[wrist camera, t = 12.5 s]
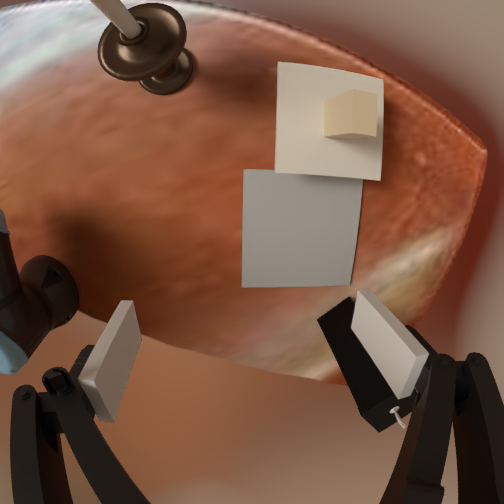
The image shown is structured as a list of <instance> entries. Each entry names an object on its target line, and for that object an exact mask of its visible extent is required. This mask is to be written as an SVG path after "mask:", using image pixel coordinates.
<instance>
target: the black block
mask: <svg viewBox="0 0 504 504" xmlns="http://www.w3.org/2000/svg"><path fill="white" fill-rule="evenodd" d="M354 310H355V304H354V302H353V301H352V300H351V298H350V297H348V298H346V299H345V300H343V301H342V302H341V303H339V304H338V305H337V306H335V307H334V308H332V309H331V310H330V311H328V312H327V313H326V314H324V315H323V316H321V317H320V318H319V319H317V321H318V323H319V325H320V327H321V329H322V331H323V333H324V335H325V337H326V339H327V342H328V344H329V346H330V348H331V350H332V352H333V354H334V356H335V358H336V361H337V363H338V365H339V367H340V369H341V371H342V373H343V375H344V378H345V380H346V382H347V384H348V386H349V388H350V391H351V393H352V395H353V397H354V399H355V401H356V404H357V406H358V410H359V412H360V414H361V416H362V417H363V418H364V419H365V420H366V421H367V422H368V423H369V424H371V425H372V426H373V427H374V428H375V429H376V430H377V431H378V432H381V431H383V430H385V429H386V428H388V427H389V426H391V425H392V424H394V423H395V422H397V421H398V422H399V424H400V425H401V426H402V427H403V428H404V429H405V424H404V422H403V421H402V420H401V419H402V418H403V417H405V416H406V415H408V414H409V413H410V412H412V410H413V407H411V405H412V403H413V401H414V399H415V397H416V395H417V391H416V389H415V387H414V389H413V391H412V394H411V396H408V397H405V398H402V399H398V398H397V397H396V395H395V394H394V392H393V391H392V389H391V387H390V386H389V384H388V383H387V381H386V380H385V378H384V377H383V375H382V374H381V372H380V370H379V369H378V367H377V366H376V364H375V363H374V361H373V360H372V358H371V357H370V355H369V354H368V352H367V351H366V349H365V348H364V346H363V345H362V343H361V342H360V340H359V339H358V337H357V336H356V334H355V333H354V332H353V330H352V329H351V325H352V320H353V315H354Z"/></svg>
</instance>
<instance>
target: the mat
mask: <svg viewBox="0 0 504 504" xmlns="http://www.w3.org/2000/svg"><path fill="white" fill-rule="evenodd" d="M362 187H363V179H359V178H348V177H337V176H324V175H310V174H292V173H275V170H262V169H244V182H243V231H242V287H309V286H342V285H350V280H351V274H352V268H353V262H354V255H355V248H356V241H357V234H358V226H359V217H360V208H361V198H362Z"/></svg>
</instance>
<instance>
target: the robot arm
mask: <svg viewBox="0 0 504 504" xmlns="http://www.w3.org/2000/svg"><path fill="white" fill-rule="evenodd" d="M9 235H10V232H9V231H8V228H7V224H6V219H5V215H4V213H3V211H2V210H1V209H0V372H1V373H3V374H7V375H12V374H15V373H17V372H18V371H19V370H20V368H21V367H22V366H23V365H24V364H26V363H27V362H28V359H29V358H30V357H31V355H32V354H33V352H34V351H35V350H36V348H37V347H38V346H39V344H40V343H41V342H42V341H43V339H44V338H45V337H46V335H47V334H48V333H49V332H50V331H51V330H53V329H55V328H58V327H60V326H62V325H64V324H66V323H67V322H69V321H70V320H71V319H72V317H73V316H74V315H75V313H76V312H77V309H78V305H79V296H78V291H77V287H76V285H75V282H74V280H73V278H72V277H71V275H70V273H69V272H68V271H67V270H66V268H65V267H64V266H63V265H62V264H61V263H59V262H58V261H57V260H55V259H53V258H51V257H49V256H44V255H40V256H36V257H34V258H32V259H31V260H29V261H28V262H27V263H26V264H25V265H24V266H23V267H22V269H21V271H20V273H19V274H18V270H17V267H16V263H15V259H14V255H13V251H12V247H11V242H10V238H9ZM351 329H352V330H353V332H354V333H355V334H356V336H357V337H358V339H359V340H360V342H361V343H362V345H363V346H364V348H365V349H366V351H367V352H368V354H369V355H370V357H371V358H372V360H373V361H374V363H375V364H376V366H377V367H378V369H379V370H380V372H381V374H382V375H383V377H384V378H385V380H386V381H387V383H388V384H389V386H390V387H391V389H392V391H393V392H394V394H395V395H396V397H397V398H398V399H402V398H405V397H408V396H411V394H412V391H413V389H414V387H415V388H416V390H417V391H418V393H417V395H416V397H415V399H414V401H413V403H412V405H411V407H413V410H412V414H411V417H410V421H409V425H408V428H407V431H406V435H405V438H404V441H403V444H402V448H401V450H400V453H399V456H398V459H397V462H396V465H395V468H394V470H393V473H392V475H391V478H390V480H389V483H388V485H387V488H386V490H385V492H384V494H383V497H382V499H381V501H380V503H379V504H441V503H442V499H443V496H444V487H442V486H441V479H442V475H443V471H444V466H445V461H446V456H447V451H448V446H449V440H450V433H451V426H452V422H453V429H454V437H455V446H456V457H457V471H458V504H504V405H503V402H502V399H501V396H500V393H499V390H498V387H497V384H496V382H495V379H494V376H493V374H492V371H491V369H490V367H489V364H488V361H487V360H486V358H485V357H484V356H483V355H482V354H480V353H475V352H473V353H470V354H468V356H467V358H466V360H465V361H455V360H454V359H453V358H452V357H450V356H449V355H446V354H438V353H437V352H436V351H435V350H434V349H433V348H432V347H431V346H430V345H429V343H427V341H425V339H424V338H423V337H422V336H420V334H419V333H418V332H417V331H416V330H415V329H414V328H412V327H410V326H408V325H406V326H404V325H403V324H402V323H401V322H400V321H399V320H398V319H397V318H396V317H395V316H394V315H393V313H392V312H391V311H390V310H389V309H388V308H387V307H386V306H385V305H384V304H383V303H382V302H381V301H380V300H379V299H378V298H377V297H376V296H375V295H374V294H373V293H372V292H371V291H370V290H369V289H362V290H358V292H357V298H356V304H355V310H354V315H353V320H352V325H351ZM141 341H142V338H141V334H140V329H139V325H138V321H137V316H136V312H135V307H134V302H133V301H128V300H121V301H120V303H119V305H118V306H117V308H116V310H115V312H114V313H113V315H112V317H111V318H110V320H109V322H108V324H107V325H106V327H105V329H104V331H103V332H102V334H101V336H100V338H99V340H98V341H97V343H96V345H87V346H86V347H85V348H84V349H83V350H81V352H80V354H79V356H78V358H77V359H76V361H75V364H73V366H72V368H71V370H70V372H69V373H68V371H67V370H66V369H65V368H63V367H54V368H51V369H49V370H47V371H46V372H45V373H44V375H43V377H42V382H43V384H44V386H45V388H46V390H47V391H48V392H39V393H37V392H36V390H35V389H34V387H33V386H31V385H22V386H20V387H18V388H17V389H16V390H15V392H14V394H13V400H12V411H11V429H10V430H11V431H10V458H11V459H10V462H11V479H12V490H13V499H14V504H73V500H72V497H71V493H70V489H69V484H68V480H67V475H66V470H65V464H64V459H63V452H62V446H61V438H60V433H64V434H65V436H66V438H67V440H68V443H69V445H70V447H71V449H72V451H73V453H74V455H75V457H76V459H77V461H78V463H79V465H80V467H81V469H82V471H83V473H84V474H85V476H86V478H87V480H88V482H89V484H90V485H91V487H92V489H93V490H94V492H95V494H96V495H97V497H98V498H99V500H100V502H101V503H102V504H151V503H150V502H149V501H148V500H147V499H146V497H145V496H144V495H143V494H142V492H141V491H140V490H139V489H138V487H137V486H136V485H135V483H134V482H133V481H132V479H131V478H130V477H129V475H128V474H127V473H126V471H125V470H124V468H123V467H122V465H121V464H120V463H119V461H118V459H117V458H116V456H115V455H114V453H113V452H112V450H111V449H110V447H109V446H108V444H107V442H106V441H105V439H104V437H103V436H102V434H101V432H100V431H99V429H98V427H97V425H96V424H95V422H94V420H93V419H94V416H95V413H96V415H97V417H98V419H99V420H100V421H104V422H111V423H115V419H116V417H117V413H118V410H119V407H120V403H121V400H122V397H123V394H124V390H125V388H126V384H127V381H128V378H129V375H130V372H131V369H132V366H133V363H134V361H135V358H136V355H137V352H138V349H139V346H140V344H141Z"/></svg>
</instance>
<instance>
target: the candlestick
mask: <svg viewBox="0 0 504 504" xmlns="http://www.w3.org/2000/svg"><path fill="white" fill-rule="evenodd" d="M90 1H91V2H92V3H93V4H94V5H95V6H96V7H97V8H98V9H99V10H100V11H101V12H102V13H103V14H104V15H105V16H106V17H107V18H108V19H109V20H110V21H111V22H110V24H109V25H108V26H107V27H106V29H105V30H104V32H103V34H102V36H101V38H100V41H99V44H98V59H99V62H100V65H101V66H102V68H103V69H104V70H105V71H106V72H107V73H108V74H109V75H111V76H113V77H115V78H117V79H119V80H123V81H139V83H140V84H141V86H142V87H143V88H144V89H145V90H147V91H149V92H150V93H153V94H157V95H165V94H170V93H173V92H175V91H177V90H179V89H180V88H182V87H183V86H184V85H185V84H186V83H187V81H188V80H189V78H190V76H191V74H192V70H193V62H192V59H191V56H190V54H189V53H188V52H187V50H185V49H184V46H185V42H186V37H187V30H186V25H185V22H184V20H183V18H182V16H181V15H180V14H179V12H178V11H177V10H175V9H174V8H172V7H171V6H168V5H165V4H160V3H146V4H141V5H137V6H134V7H132V8H130V9H128V10H127V8H126V7H125V6H124V5H123V3H122V2H121V1H120V0H90Z"/></svg>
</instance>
